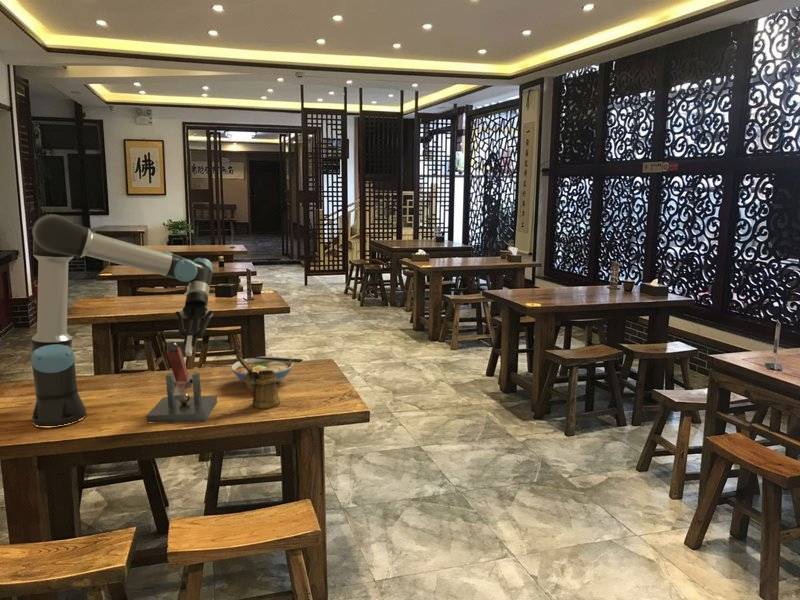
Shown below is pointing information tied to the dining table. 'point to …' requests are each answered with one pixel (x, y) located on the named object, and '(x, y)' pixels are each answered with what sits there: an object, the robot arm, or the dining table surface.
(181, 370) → the lever
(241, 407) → the dining table surface
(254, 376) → the wooden mug
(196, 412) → the stand
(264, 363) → the ramen bowl
